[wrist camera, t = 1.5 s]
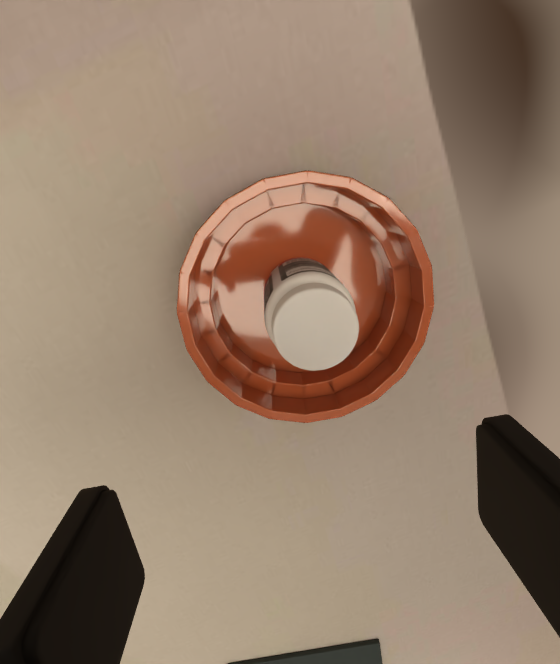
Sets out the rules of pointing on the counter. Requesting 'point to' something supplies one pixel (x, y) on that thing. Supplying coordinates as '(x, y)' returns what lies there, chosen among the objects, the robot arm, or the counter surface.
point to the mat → (329, 655)
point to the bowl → (343, 262)
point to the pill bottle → (309, 314)
